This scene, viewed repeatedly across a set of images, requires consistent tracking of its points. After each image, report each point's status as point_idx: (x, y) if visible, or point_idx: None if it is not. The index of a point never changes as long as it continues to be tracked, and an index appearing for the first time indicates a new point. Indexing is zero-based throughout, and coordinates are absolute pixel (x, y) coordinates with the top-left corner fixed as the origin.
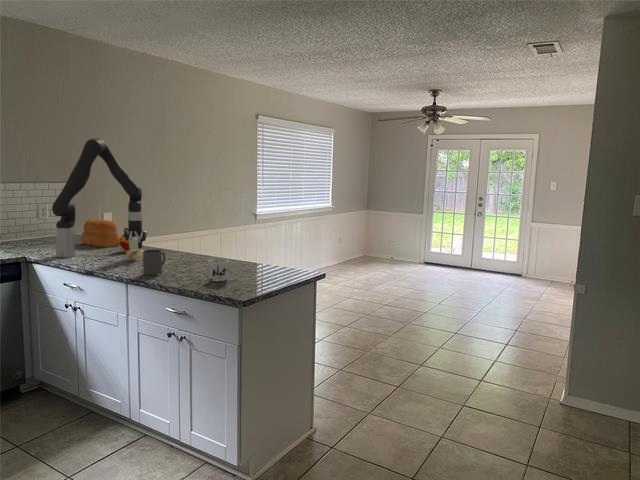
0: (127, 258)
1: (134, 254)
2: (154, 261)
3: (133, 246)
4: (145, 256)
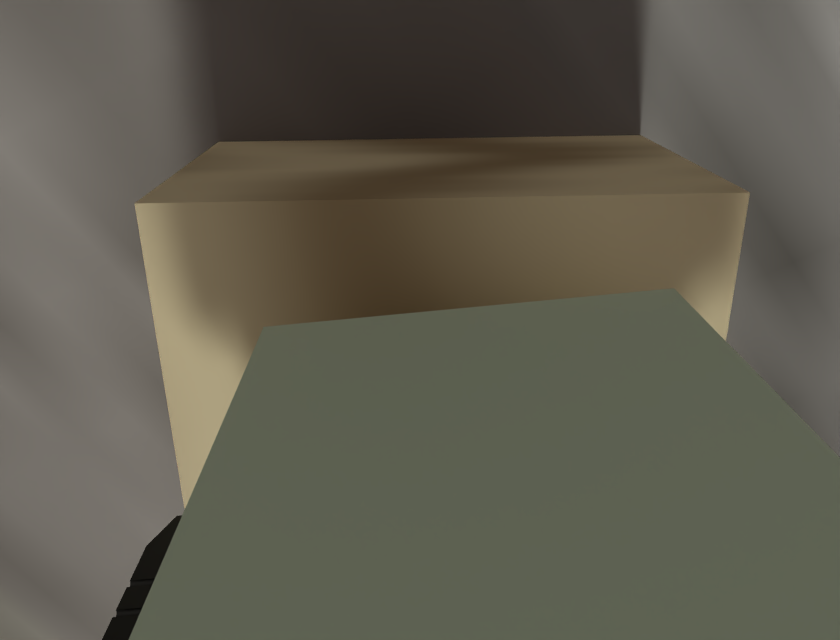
0: (628, 144)
1: (348, 177)
2: None
3: (469, 387)
4: None
